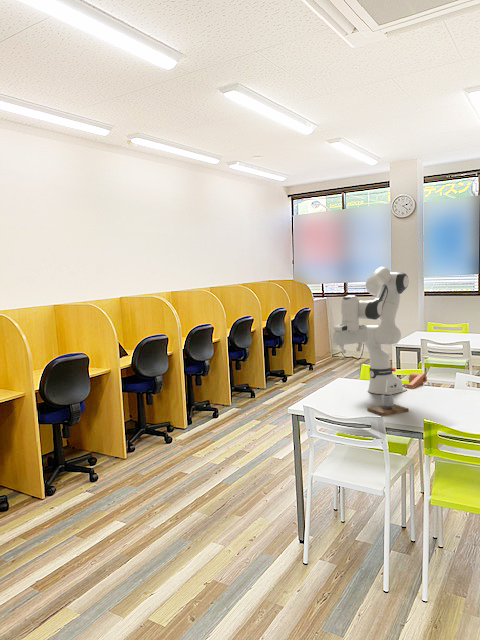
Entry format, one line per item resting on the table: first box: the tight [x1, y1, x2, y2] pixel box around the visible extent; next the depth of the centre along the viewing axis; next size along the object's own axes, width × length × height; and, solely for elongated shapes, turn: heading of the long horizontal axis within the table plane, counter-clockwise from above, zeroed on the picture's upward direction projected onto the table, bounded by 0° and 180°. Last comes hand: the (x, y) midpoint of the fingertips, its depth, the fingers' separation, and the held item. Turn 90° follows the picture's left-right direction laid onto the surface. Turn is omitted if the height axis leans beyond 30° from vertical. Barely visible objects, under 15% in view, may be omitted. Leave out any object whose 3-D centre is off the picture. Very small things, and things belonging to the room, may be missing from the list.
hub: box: [380, 394, 394, 407], centre depth 247 cm, size 6×6×5 cm
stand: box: [366, 403, 409, 417], centre depth 247 cm, size 16×12×8 cm
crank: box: [402, 371, 428, 389], centre depth 296 cm, size 20×8×8 cm, turn 136°
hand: (351, 352), depth 257 cm, fingers open, 8 cm apart
